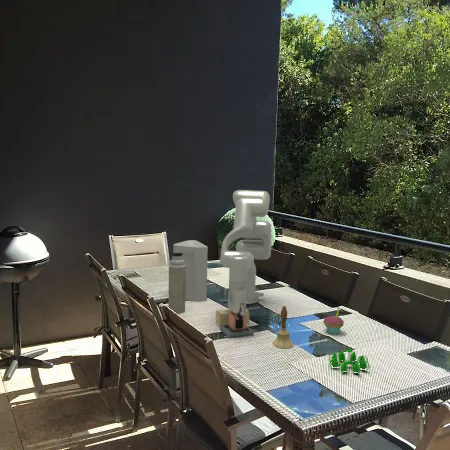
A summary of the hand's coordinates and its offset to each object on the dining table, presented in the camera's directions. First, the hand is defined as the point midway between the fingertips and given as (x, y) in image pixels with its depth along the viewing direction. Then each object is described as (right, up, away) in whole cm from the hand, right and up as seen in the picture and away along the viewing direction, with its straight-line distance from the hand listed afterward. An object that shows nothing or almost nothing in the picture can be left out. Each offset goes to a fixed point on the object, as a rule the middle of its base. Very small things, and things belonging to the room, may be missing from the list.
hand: (236, 325), depth 215 cm
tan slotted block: (-2, -1, +10) cm, 11 cm away
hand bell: (+18, -6, -12) cm, 23 cm away
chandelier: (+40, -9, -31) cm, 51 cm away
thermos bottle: (-28, +2, +26) cm, 38 cm away
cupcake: (+42, -4, +3) cm, 42 cm away
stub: (0, -1, 0) cm, 1 cm away
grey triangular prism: (-25, +5, +48) cm, 54 cm away
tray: (0, -3, 0) cm, 3 cm away
